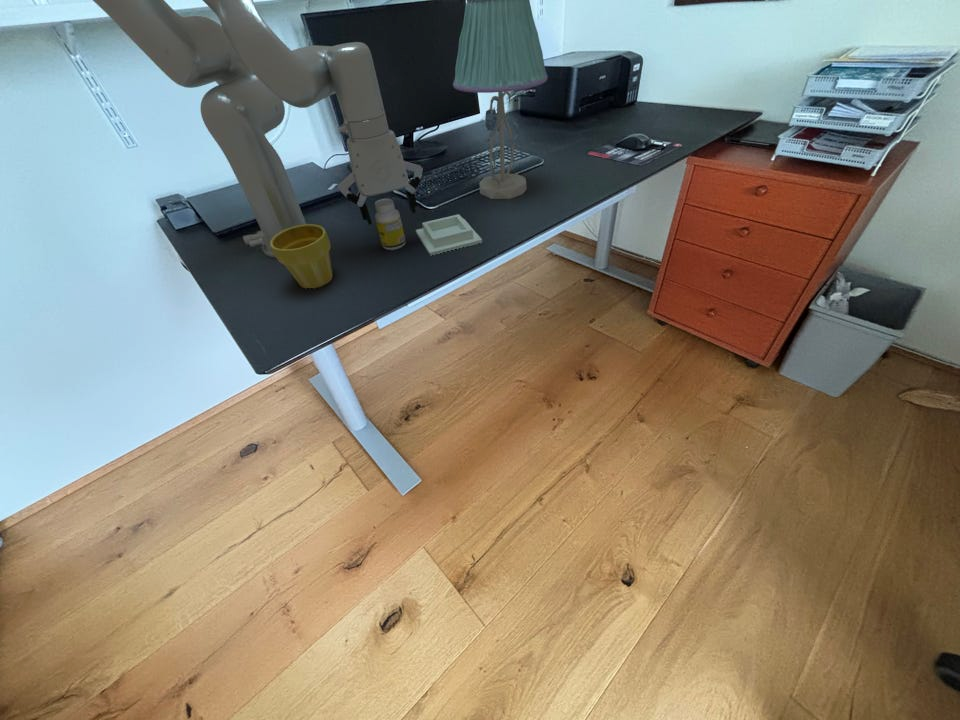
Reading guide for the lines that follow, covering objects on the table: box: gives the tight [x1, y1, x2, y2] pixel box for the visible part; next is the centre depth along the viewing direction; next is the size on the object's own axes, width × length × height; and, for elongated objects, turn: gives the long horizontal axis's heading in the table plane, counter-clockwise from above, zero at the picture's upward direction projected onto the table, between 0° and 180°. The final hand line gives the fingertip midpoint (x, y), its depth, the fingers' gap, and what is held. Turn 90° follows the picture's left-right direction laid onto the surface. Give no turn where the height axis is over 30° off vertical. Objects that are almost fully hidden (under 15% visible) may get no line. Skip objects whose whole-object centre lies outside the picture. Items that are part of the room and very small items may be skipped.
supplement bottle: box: [374, 198, 407, 251], centre depth 88 cm, size 5×5×10 cm
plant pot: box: [270, 223, 334, 290], centre depth 79 cm, size 10×10×10 cm
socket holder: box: [415, 214, 483, 257], centre depth 91 cm, size 12×12×3 cm
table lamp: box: [452, 0, 549, 200], centre depth 96 cm, size 22×22×40 cm
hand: (391, 216), depth 86 cm, fingers open, 9 cm apart
